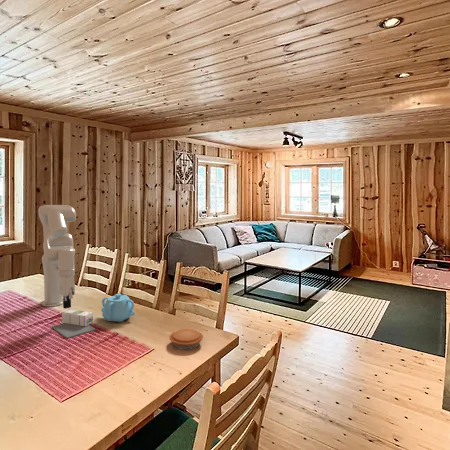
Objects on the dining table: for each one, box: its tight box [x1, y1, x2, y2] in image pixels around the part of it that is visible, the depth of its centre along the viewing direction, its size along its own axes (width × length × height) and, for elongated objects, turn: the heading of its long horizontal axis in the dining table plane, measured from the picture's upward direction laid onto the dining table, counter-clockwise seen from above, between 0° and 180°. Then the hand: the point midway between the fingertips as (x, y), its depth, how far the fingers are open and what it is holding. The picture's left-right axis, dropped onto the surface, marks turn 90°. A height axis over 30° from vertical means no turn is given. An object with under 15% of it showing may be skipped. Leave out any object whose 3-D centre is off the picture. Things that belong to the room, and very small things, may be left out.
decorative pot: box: [100, 293, 136, 323], centre depth 182 cm, size 16×16×14 cm
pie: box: [169, 328, 204, 350], centre depth 155 cm, size 15×16×5 cm
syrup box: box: [61, 308, 94, 326], centre depth 173 cm, size 6×6×14 cm
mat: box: [51, 323, 96, 339], centre depth 167 cm, size 18×14×1 cm
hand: (67, 307), depth 171 cm, fingers closed
